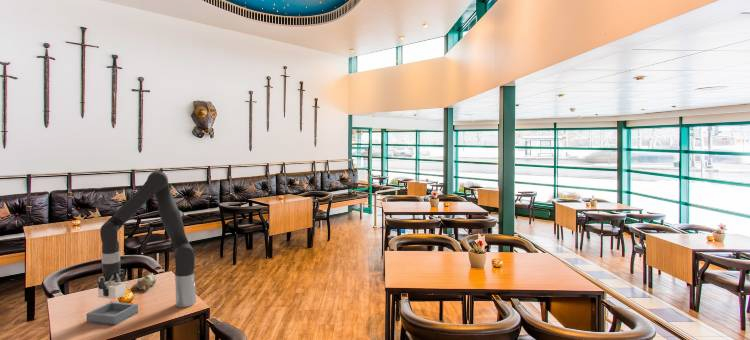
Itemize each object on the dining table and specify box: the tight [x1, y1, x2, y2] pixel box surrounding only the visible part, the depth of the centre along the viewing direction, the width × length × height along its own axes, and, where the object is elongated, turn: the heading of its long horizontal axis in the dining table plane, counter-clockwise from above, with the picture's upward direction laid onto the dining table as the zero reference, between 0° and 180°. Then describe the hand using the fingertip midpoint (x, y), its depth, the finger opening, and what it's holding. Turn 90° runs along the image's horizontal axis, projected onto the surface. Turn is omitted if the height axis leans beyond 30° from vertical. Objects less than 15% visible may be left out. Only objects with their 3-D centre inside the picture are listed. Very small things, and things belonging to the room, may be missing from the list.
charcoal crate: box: [85, 301, 139, 326], centre depth 186 cm, size 14×16×4 cm
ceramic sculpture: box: [130, 272, 157, 291], centre depth 223 cm, size 11×9×15 cm
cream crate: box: [97, 281, 127, 300], centre depth 185 cm, size 6×10×6 cm, turn 80°
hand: (112, 293), depth 185 cm, fingers closed on cream crate, 6 cm apart
